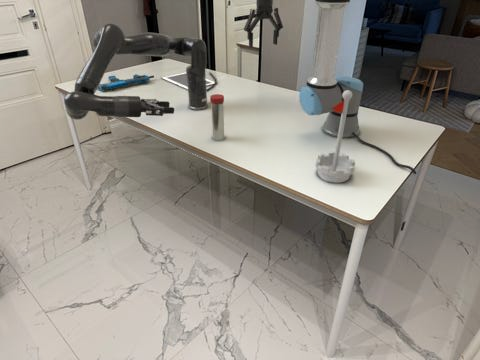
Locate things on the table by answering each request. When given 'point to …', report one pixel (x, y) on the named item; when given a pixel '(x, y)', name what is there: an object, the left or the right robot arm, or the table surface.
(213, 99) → the lid
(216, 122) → the jar
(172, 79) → the tablet
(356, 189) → the table surface
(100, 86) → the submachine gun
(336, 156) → the flag stand
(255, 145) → the table surface
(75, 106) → the left robot arm
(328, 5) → the right robot arm
